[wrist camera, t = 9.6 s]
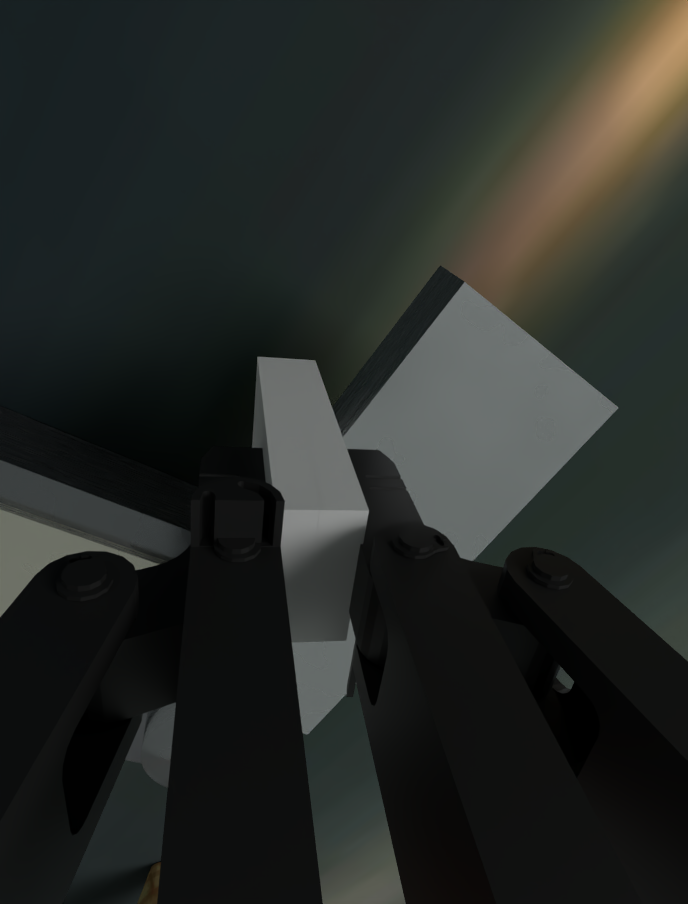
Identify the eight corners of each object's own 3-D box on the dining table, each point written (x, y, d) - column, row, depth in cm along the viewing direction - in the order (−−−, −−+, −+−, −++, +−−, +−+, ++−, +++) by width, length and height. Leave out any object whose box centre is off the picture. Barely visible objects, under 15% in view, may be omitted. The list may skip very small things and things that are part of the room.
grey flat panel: (579, 379, 17) (629, 415, 15) (248, 743, 22) (250, 809, 20) (437, 264, 15) (472, 287, 13) (107, 699, 20) (92, 768, 18)
